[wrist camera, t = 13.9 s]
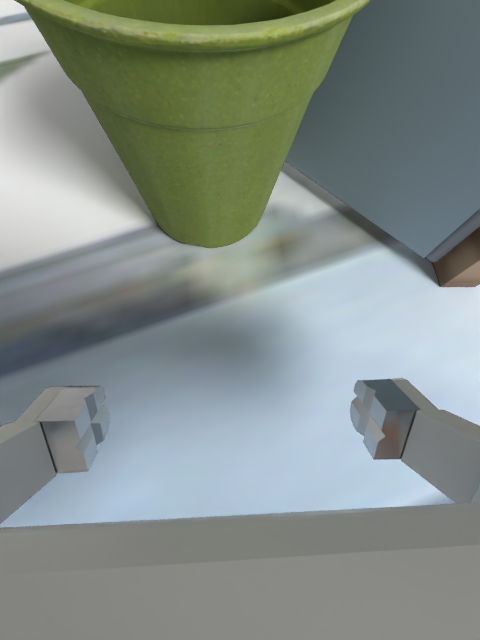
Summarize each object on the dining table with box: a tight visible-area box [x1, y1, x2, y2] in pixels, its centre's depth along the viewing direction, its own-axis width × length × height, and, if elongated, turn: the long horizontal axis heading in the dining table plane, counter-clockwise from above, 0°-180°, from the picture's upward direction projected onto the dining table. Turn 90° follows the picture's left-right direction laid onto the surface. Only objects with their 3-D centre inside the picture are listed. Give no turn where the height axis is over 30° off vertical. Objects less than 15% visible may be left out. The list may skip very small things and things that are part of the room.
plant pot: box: [15, 0, 371, 248], centre depth 13 cm, size 12×12×11 cm
